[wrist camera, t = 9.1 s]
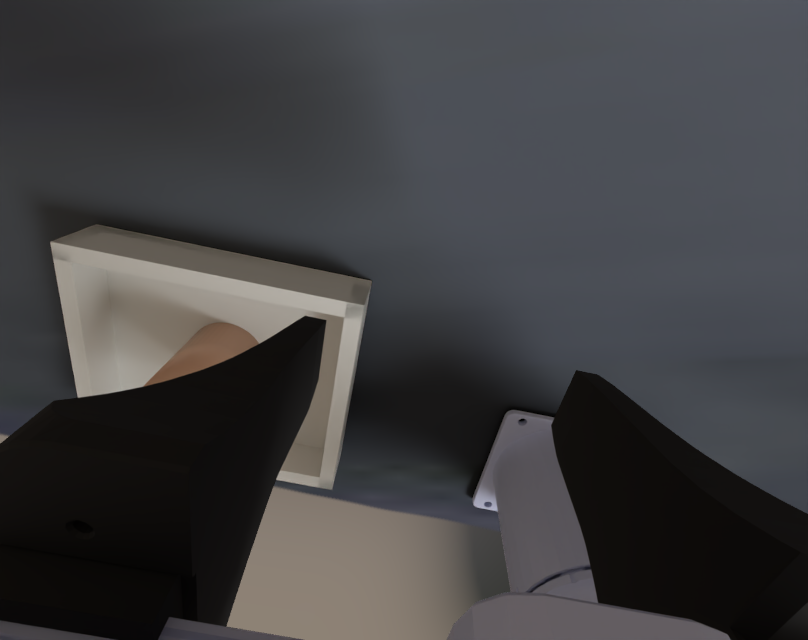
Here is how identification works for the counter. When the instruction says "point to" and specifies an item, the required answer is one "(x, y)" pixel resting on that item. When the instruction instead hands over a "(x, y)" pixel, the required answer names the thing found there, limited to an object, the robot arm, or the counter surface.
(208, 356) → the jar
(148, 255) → the tray
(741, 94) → the counter surface
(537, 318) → the counter surface
